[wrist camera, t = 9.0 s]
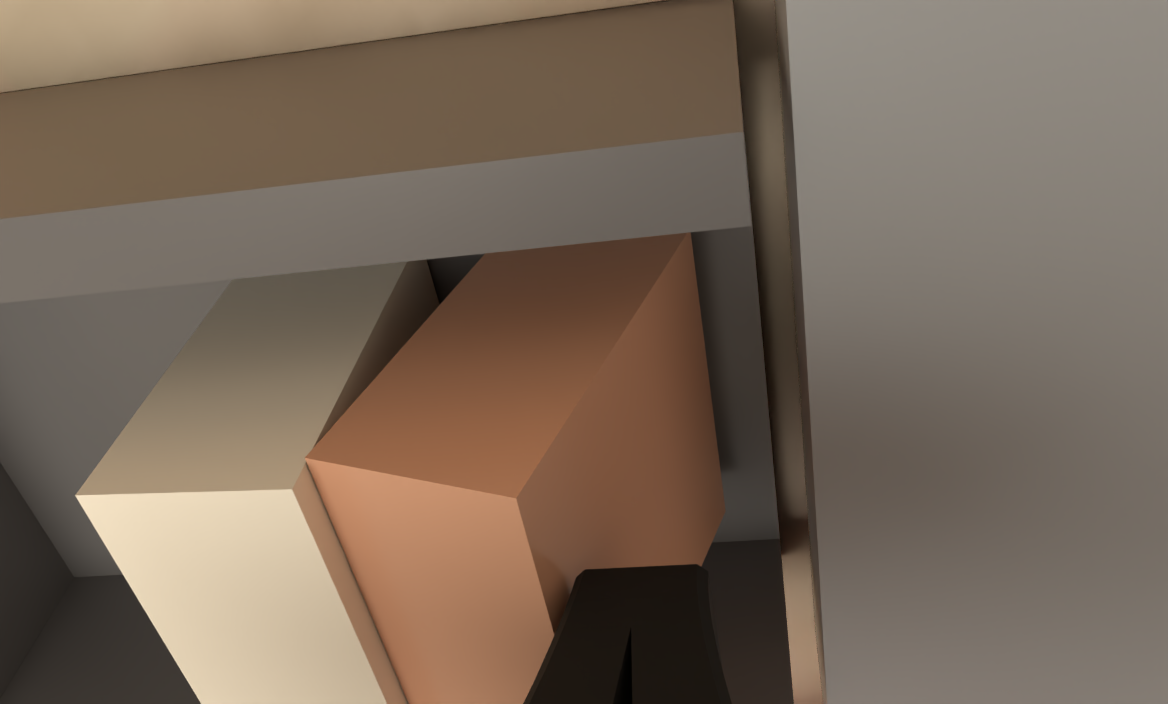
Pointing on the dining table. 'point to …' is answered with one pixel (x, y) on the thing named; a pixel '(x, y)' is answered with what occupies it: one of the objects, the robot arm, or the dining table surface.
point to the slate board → (982, 344)
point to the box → (350, 239)
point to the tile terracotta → (525, 458)
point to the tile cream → (258, 488)
